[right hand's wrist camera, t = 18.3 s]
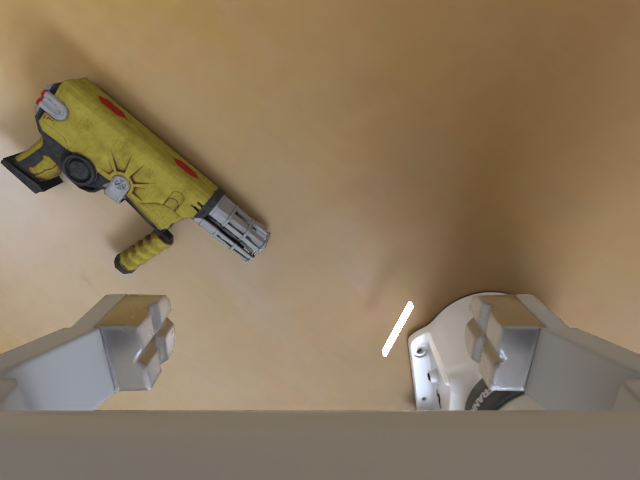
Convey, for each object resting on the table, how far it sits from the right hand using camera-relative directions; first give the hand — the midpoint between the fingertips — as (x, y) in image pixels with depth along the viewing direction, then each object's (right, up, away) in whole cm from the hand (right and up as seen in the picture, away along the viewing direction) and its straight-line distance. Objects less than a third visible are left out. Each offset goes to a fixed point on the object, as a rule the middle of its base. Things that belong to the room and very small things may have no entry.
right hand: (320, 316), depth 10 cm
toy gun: (-19, +6, +31) cm, 37 cm away
